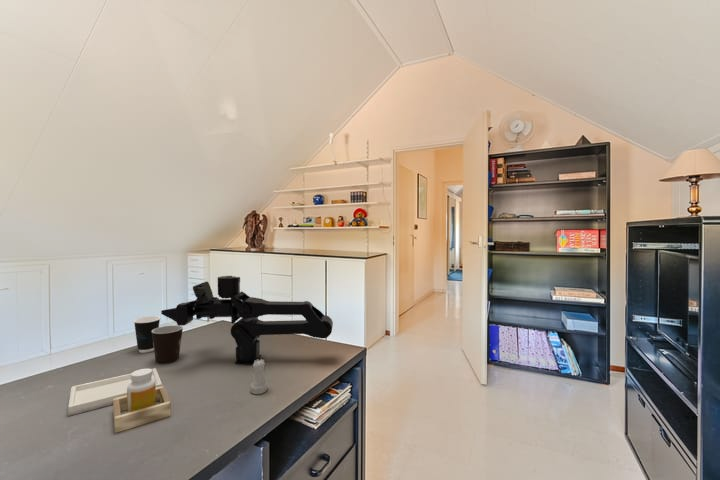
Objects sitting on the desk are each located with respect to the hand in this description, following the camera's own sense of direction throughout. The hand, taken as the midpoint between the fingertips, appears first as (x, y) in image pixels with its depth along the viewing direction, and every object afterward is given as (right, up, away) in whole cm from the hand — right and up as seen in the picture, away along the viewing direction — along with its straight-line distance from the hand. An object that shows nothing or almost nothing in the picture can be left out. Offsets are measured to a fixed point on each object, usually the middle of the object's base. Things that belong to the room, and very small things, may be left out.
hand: (170, 308), depth 102 cm
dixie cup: (-13, -16, +8) cm, 22 cm away
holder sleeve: (+11, -18, -30) cm, 36 cm away
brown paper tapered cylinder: (-1, -17, +2) cm, 17 cm away
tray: (-1, -17, -21) cm, 27 cm away
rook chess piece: (+35, -18, -18) cm, 43 cm away
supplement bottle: (+11, -18, -30) cm, 36 cm away
